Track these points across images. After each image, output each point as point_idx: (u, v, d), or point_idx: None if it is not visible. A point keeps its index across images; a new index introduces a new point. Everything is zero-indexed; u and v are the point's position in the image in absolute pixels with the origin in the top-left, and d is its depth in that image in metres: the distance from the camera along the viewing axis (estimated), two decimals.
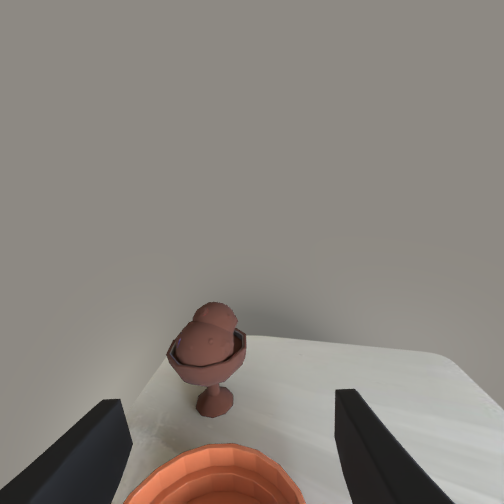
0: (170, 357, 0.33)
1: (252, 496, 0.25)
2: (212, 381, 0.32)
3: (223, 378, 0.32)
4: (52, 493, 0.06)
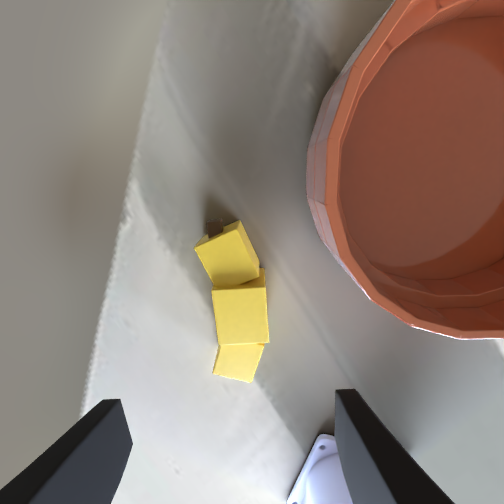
0: None
1: None
2: None
3: None
4: (52, 493, 0.06)
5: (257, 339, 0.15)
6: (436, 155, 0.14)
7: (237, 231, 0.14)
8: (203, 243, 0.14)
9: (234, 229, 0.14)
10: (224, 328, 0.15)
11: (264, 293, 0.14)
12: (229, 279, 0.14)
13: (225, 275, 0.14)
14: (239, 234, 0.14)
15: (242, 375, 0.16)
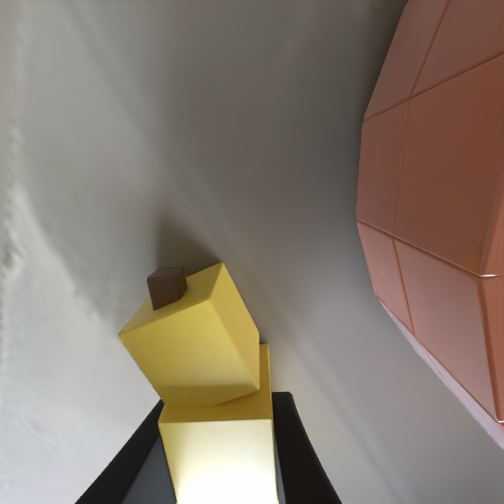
0: None
1: None
2: None
3: None
4: (138, 491, 0.06)
5: None
6: None
7: (210, 303, 0.06)
8: (137, 326, 0.06)
9: (204, 298, 0.06)
10: (189, 487, 0.07)
11: (270, 429, 0.07)
12: (197, 395, 0.07)
13: (188, 388, 0.07)
14: (215, 308, 0.06)
15: None
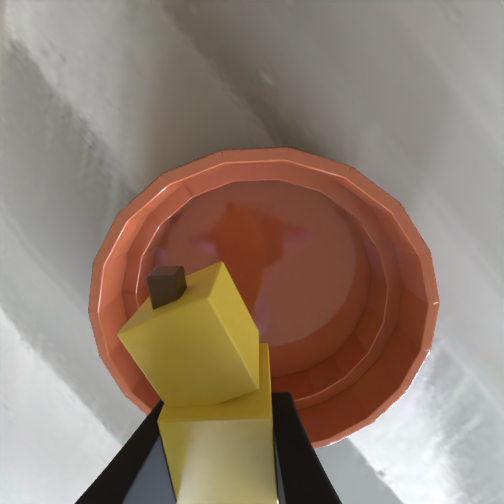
0: None
1: (340, 209, 0.15)
2: None
3: None
4: (139, 491, 0.06)
5: None
6: (244, 282, 0.16)
7: (210, 302, 0.06)
8: (137, 325, 0.06)
9: (203, 297, 0.06)
10: (188, 486, 0.07)
11: (269, 428, 0.07)
12: (196, 395, 0.07)
13: (187, 387, 0.07)
14: (215, 307, 0.06)
15: None
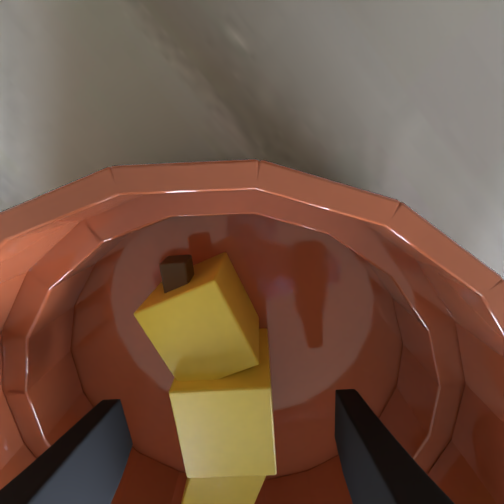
0: None
1: None
2: None
3: None
4: (52, 493, 0.06)
5: (255, 471, 0.08)
6: None
7: (216, 285, 0.07)
8: (151, 306, 0.07)
9: (210, 281, 0.07)
10: (195, 453, 0.08)
11: (268, 398, 0.07)
12: (203, 369, 0.08)
13: (195, 362, 0.08)
14: (220, 290, 0.07)
15: None
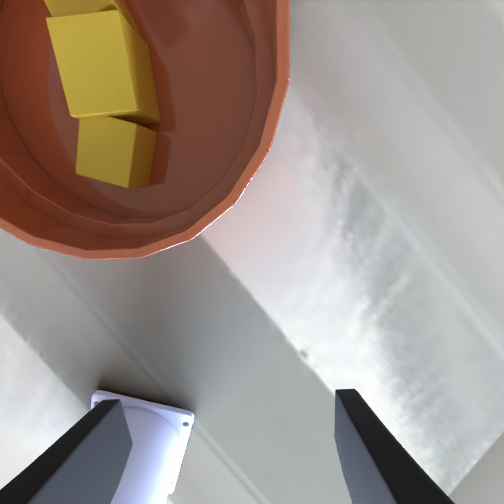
0: None
1: None
2: None
3: None
4: (52, 493, 0.06)
5: (119, 105, 0.11)
6: None
7: None
8: None
9: None
10: (73, 85, 0.11)
11: (117, 20, 0.10)
12: (73, 7, 0.11)
13: (66, 0, 0.10)
14: None
15: (114, 175, 0.12)
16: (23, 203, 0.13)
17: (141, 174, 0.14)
